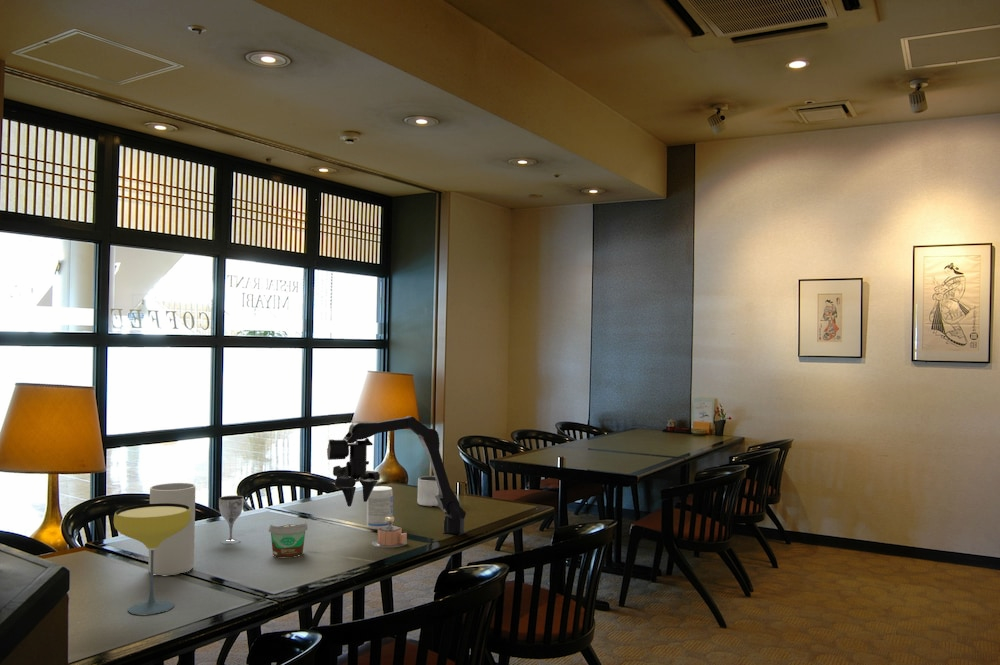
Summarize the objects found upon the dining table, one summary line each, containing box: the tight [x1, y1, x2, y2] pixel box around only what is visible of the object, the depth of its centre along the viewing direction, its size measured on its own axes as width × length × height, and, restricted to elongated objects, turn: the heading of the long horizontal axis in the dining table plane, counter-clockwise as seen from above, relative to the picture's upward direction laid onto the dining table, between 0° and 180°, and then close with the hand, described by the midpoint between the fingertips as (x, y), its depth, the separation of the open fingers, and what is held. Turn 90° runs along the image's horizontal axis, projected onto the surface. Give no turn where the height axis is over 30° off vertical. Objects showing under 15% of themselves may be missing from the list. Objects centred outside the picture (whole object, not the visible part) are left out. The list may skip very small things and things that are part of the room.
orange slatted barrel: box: [377, 525, 408, 546], centre depth 266 cm, size 10×8×5 cm
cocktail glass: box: [113, 503, 191, 615], centre depth 200 cm, size 18×18×25 cm
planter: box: [416, 475, 439, 507], centre depth 335 cm, size 12×12×11 cm
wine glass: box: [218, 495, 244, 541], centre depth 268 cm, size 8×8×15 cm
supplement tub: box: [366, 485, 394, 530], centre depth 291 cm, size 10×10×15 cm
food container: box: [268, 521, 308, 558], centre depth 251 cm, size 12×6×10 cm, turn 117°
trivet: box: [371, 540, 408, 549], centre depth 266 cm, size 12×12×1 cm
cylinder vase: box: [148, 482, 196, 575], centre depth 233 cm, size 12×12×25 cm
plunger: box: [385, 516, 395, 532], centre depth 266 cm, size 5×5×8 cm
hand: (357, 504), depth 270 cm, fingers open, 9 cm apart
